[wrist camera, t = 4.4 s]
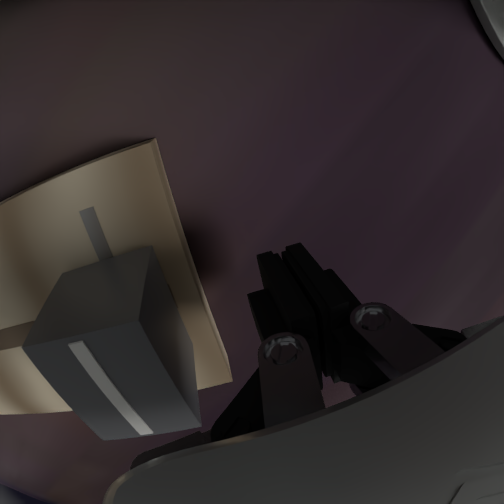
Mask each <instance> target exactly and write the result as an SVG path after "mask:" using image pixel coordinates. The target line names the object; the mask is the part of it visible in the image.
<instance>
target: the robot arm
mask: <svg viewBox="0 0 504 504" xmlns="http://www.w3.org/2000/svg"><path fill="white" fill-rule="evenodd" d="M470 1H471V4H472V6H473V8H474V10H475V12H476V15H477V17H478V19H479V20H480V22H481V24H482V26H483V28H484V30H485V32H486V34H487V35H488V37H489V39H490V40H491V42H492V44H493V45H494V47H495V48H496V50H497V51H498V53H499V54H500V55H501V57H502V58H503V60H504V0H470ZM257 260H258V265H259V269H260V274H261V278H262V282H263V287H264V289H263V290H259V291H256V292H252V293H249V294H247V296H248V300H249V303H250V307H251V311H252V314H253V318H254V321H255V324H256V327H257V330H258V333H259V336H260V339H261V342H262V343H261V345H260V347H259V349H258V364H259V367H258V369H257V370H256V371H255V372H254V374H253V375H252V376H251V378H250V379H249V380H248V382H247V383H246V384H245V385H244V387H243V388H242V389H241V390H240V392H239V393H238V394H237V396H236V397H235V398H234V399H233V401H232V402H231V403H230V404H229V406H228V407H227V408H226V409H225V410H224V412H223V413H222V414H221V415H220V417H219V418H218V419H217V420H216V421H215V423H214V425H213V426H212V429H210V430H208V431H206V432H203V433H201V432H200V431H197V432H195V433H193V434H190V435H188V436H185V437H183V438H180V439H178V440H175V441H172V442H170V443H167V444H165V445H162V446H159V447H156V448H154V449H151V450H148V451H145V452H143V453H141V454H139V455H138V456H137V457H136V458H135V459H134V460H133V462H132V464H131V467H130V471H128V472H126V473H125V474H123V475H122V476H120V477H119V478H118V479H117V480H115V481H114V482H113V483H112V484H111V486H110V487H109V488H108V490H107V492H106V494H105V496H104V499H103V503H102V504H504V316H501V317H497V318H495V319H492V320H489V321H486V322H483V323H480V324H477V325H474V326H471V327H468V328H465V329H462V330H461V333H459V332H457V331H453V330H448V329H442V328H435V327H429V326H423V325H416V324H411V323H410V322H409V321H407V320H406V319H405V318H404V317H402V316H401V315H400V314H399V313H397V312H396V311H395V310H394V309H392V308H391V307H389V306H388V305H386V304H383V303H379V302H370V303H364V304H361V303H360V302H359V300H358V299H357V298H356V297H355V296H354V294H353V293H352V292H351V291H350V290H349V289H348V287H347V286H346V285H345V284H344V283H343V281H342V280H341V279H340V278H339V277H338V276H337V274H336V273H335V272H334V271H333V270H332V269H327V270H324V271H323V269H322V268H321V267H320V266H319V264H318V263H317V262H316V261H315V260H314V258H313V257H312V256H311V255H310V253H309V252H308V251H307V250H306V249H305V247H304V246H303V245H302V244H301V243H297V244H293V245H290V246H286V251H283V252H282V259H281V257H280V256H279V254H278V253H276V254H273V253H272V251H269V252H266V253H262V254H259V255H257ZM322 372H323V374H324V375H325V377H328V376H331V378H332V380H333V382H334V383H337V382H339V381H343V382H347V383H349V385H350V388H351V390H352V391H353V393H354V394H355V395H356V397H353V398H351V399H348V400H346V401H343V402H341V403H338V404H336V405H333V406H331V407H328V408H326V407H325V403H324V400H323V396H322V392H321V390H322V389H323V382H322Z"/></svg>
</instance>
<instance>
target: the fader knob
mask: <svg viewBox="0 0 504 504" xmlns="http://www.w3.org/2000/svg"><path fill="white" fill-rule="evenodd" d="M21 348H22V349H23V351H24V352H25V353H26V355H27V356H28V357H29V359H30V360H31V361H32V363H33V364H34V365H35V367H36V368H37V369H38V370H39V372H40V373H41V374H42V375H43V377H44V378H45V379H46V380H47V382H48V383H49V384H50V385H51V386H52V388H53V389H54V390H55V391H56V392H57V393H58V394H59V396H60V397H61V398H62V399H63V400H64V401H65V402H66V403H67V405H68V406H69V407H70V408H71V409H72V410H73V411H74V412H75V413H76V414H77V415H78V416H79V417H80V418H81V419H82V420H83V421H84V422H85V423H86V424H87V425H88V426H89V427H90V428H91V429H92V430H93V431H94V432H95V433H96V434H97V435H98V436H99V437H100V438H101V439H102V440H114V439H124V438H133V437H141V436H149V435H155V434H162V433H168V432H174V431H180V430H185V429H191V428H196V427H201V426H202V424H201V416H200V408H199V400H198V391H197V381H196V371H195V361H194V350H193V343H192V341H191V339H190V336H189V334H188V332H187V330H186V327H185V325H184V323H183V321H182V318H181V316H180V314H179V311H178V309H177V307H176V304H175V302H174V300H173V297H172V295H171V292H170V290H169V287H168V285H167V282H166V280H165V278H164V275H163V272H162V270H161V267H160V265H159V262H158V260H157V257H156V254H155V252H154V249H153V246H152V245H151V246H147V247H144V248H141V249H137V250H134V251H131V252H127V253H124V254H121V255H118V256H115V257H111V258H108V259H105V260H102V261H99V262H95V263H92V264H89V265H86V266H83V267H80V268H77V269H74V270H71V271H67V272H64V273H62V274H61V276H60V278H59V279H58V281H57V283H56V284H55V286H54V288H53V289H52V291H51V293H50V294H49V296H48V298H47V300H46V301H45V303H44V305H43V307H42V309H41V310H40V312H39V314H38V316H37V318H36V320H35V322H34V323H33V325H32V327H31V329H30V331H29V333H28V335H27V337H26V339H25V341H24V343H23V345H22V347H21Z"/></svg>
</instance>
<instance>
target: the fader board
mask: <svg viewBox="0 0 504 504" xmlns="http://www.w3.org/2000/svg"><path fill="white" fill-rule="evenodd" d="M151 245H152V246H153V249H154V252H155V254H156V257H157V260H158V262H159V265H160V267H161V270H162V272H163V275H164V278H165V280H166V282H167V285H168V287H169V290H170V292H171V295H172V297H173V300H174V302H175V304H176V307H177V309H178V311H179V314H180V316H181V318H182V321H183V323H184V325H185V327H186V330H187V332H188V334H189V336H190V339H191V341H192V343H193V350H194V361H195V371H196V381H197V390H199V389H203V388H208V387H212V386H216V385H220V384H224V383H228V382H231V381H233V380H232V375H231V371H230V366H229V361H228V357H227V353H226V351H225V348H224V346H223V343H222V340H221V338H220V335H219V332H218V330H217V327H216V324H215V322H214V319H213V316H212V313H211V311H210V308H209V305H208V302H207V299H206V297H205V294H204V291H203V288H202V285H201V282H200V279H199V277H198V274H197V271H196V268H195V265H194V262H193V259H192V256H191V253H190V250H189V247H188V244H187V241H186V238H185V234H184V231H183V228H182V225H181V222H180V219H179V216H178V212H177V209H176V206H175V203H174V199H173V196H172V193H171V189H170V186H169V183H168V179H167V176H166V172H165V169H164V165H163V162H162V158H161V155H160V151H159V148H158V144H157V140H156V138H154V139H150V140H147V141H144V142H141V143H138V144H135V145H132V146H129V147H126V148H123V149H121V150H118V151H115V152H112V153H110V154H107V155H104V156H102V157H99V158H96V159H94V160H91V161H89V162H86V163H84V164H81V165H79V166H76V167H74V168H71V169H69V170H67V171H64V172H62V173H60V174H57V175H55V176H53V177H51V178H49V179H46V180H44V181H42V182H40V183H38V184H36V185H33V186H31V187H29V188H27V189H25V190H23V191H21V192H19V193H17V194H15V195H13V196H11V197H9V198H8V199H6V200H4V201H2V202H0V414H33V413H50V412H62V411H73V410H72V409H71V408H70V407H69V406H68V405H67V403H66V402H65V401H64V400H63V399H62V398H61V397H60V396H59V394H58V393H57V392H56V391H55V390H54V389H53V388H52V386H51V385H50V384H49V383H48V382H47V380H46V379H45V378H44V377H43V375H42V374H41V373H40V372H39V370H38V369H37V368H36V367H35V365H34V364H33V363H32V361H31V360H30V359H29V357H28V356H27V355H26V353H25V352H24V351H23V349H22V348H21V347H22V345H23V343H24V341H25V339H26V337H27V335H28V333H29V331H30V329H31V327H32V325H33V323H34V322H35V320H36V318H37V316H38V314H39V312H40V310H41V309H42V307H43V305H44V303H45V301H46V300H47V298H48V296H49V294H50V293H51V291H52V289H53V288H54V286H55V284H56V283H57V281H58V279H59V278H60V276H61V274H62V273H64V272H67V271H71V270H74V269H77V268H80V267H83V266H86V265H89V264H92V263H95V262H99V261H102V260H105V259H108V258H111V257H115V256H118V255H121V254H124V253H127V252H131V251H134V250H137V249H141V248H144V247H147V246H151Z"/></svg>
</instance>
